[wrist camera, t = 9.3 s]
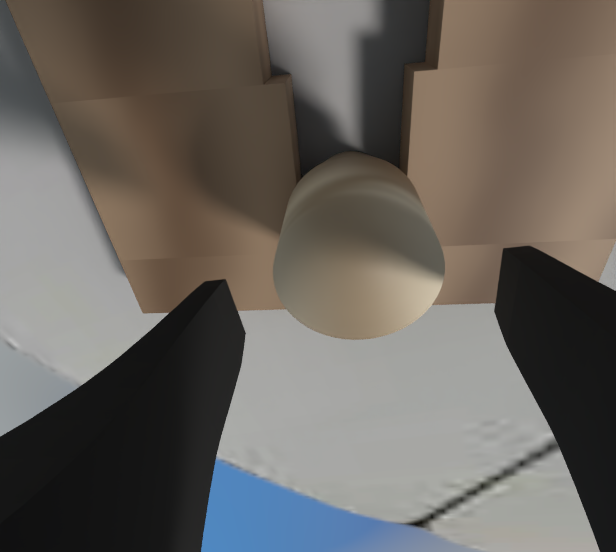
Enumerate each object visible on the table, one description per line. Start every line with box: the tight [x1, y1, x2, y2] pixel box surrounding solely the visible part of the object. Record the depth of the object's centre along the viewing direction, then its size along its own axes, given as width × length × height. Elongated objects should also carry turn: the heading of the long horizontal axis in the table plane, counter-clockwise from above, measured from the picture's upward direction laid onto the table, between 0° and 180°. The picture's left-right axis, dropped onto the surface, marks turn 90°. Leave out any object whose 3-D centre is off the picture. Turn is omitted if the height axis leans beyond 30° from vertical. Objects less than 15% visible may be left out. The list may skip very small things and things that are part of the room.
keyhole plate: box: [5, 0, 616, 313], centre depth 13 cm, size 20×18×2 cm
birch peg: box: [273, 151, 445, 340], centre depth 13 cm, size 5×5×6 cm
